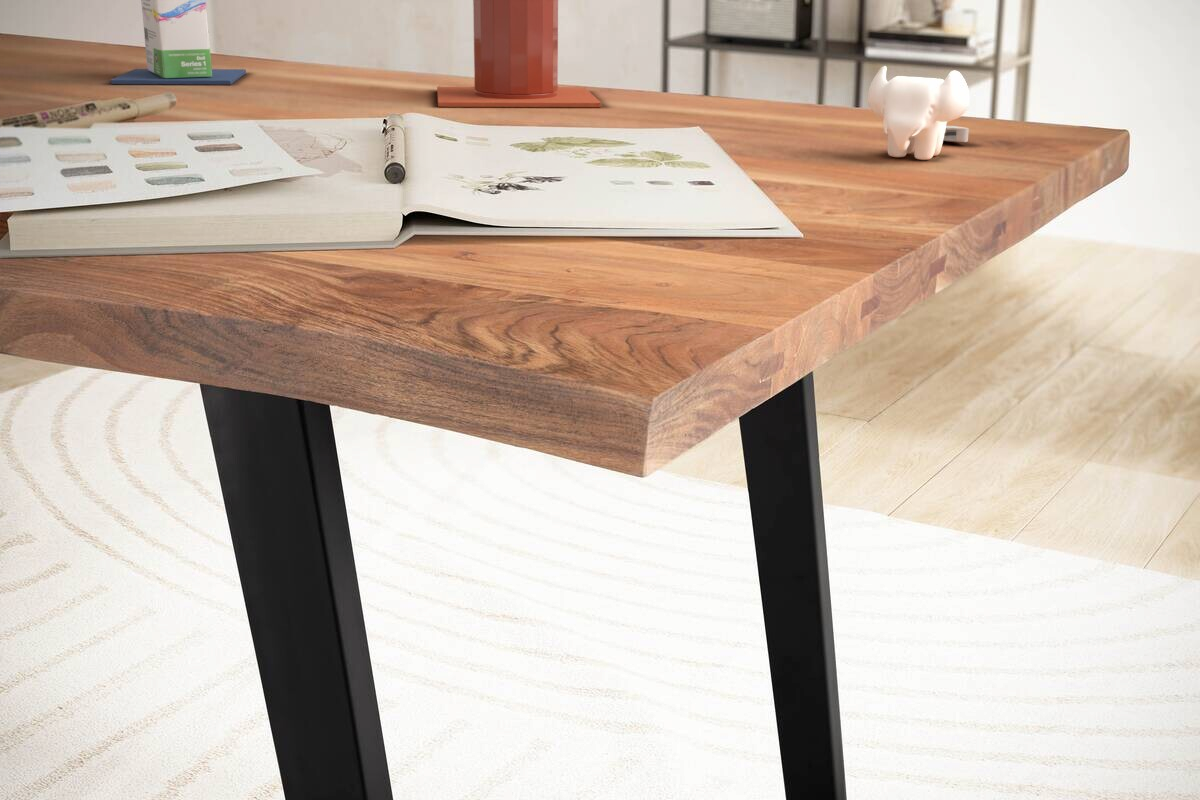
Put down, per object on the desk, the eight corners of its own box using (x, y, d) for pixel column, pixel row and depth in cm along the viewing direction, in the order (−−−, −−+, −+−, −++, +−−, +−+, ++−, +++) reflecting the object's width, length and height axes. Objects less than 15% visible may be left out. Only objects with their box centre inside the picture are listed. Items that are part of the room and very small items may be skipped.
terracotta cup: (476, 103, 111) (474, -5, 108) (473, 93, 118) (471, -8, 115) (560, 104, 112) (561, -4, 109) (553, 94, 119) (553, -7, 116)
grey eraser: (899, 138, 98) (900, 123, 97) (925, 137, 99) (926, 122, 98) (950, 144, 92) (951, 127, 92) (977, 142, 93) (978, 126, 93)
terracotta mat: (438, 106, 109) (437, 102, 108) (437, 91, 120) (437, 86, 120) (601, 107, 110) (601, 102, 110) (585, 91, 122) (585, 87, 121)
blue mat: (110, 84, 120) (110, 79, 120) (135, 72, 130) (135, 68, 130) (230, 84, 122) (230, 80, 121) (246, 73, 132) (245, 69, 132)
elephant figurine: (846, 160, 85) (853, 69, 83) (879, 145, 92) (887, 60, 90) (947, 170, 83) (957, 75, 81) (974, 153, 89) (984, 66, 87)
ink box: (214, 77, 123) (203, -52, 119) (161, 79, 121) (148, -53, 117) (196, 69, 130) (186, -53, 126) (146, 71, 128) (133, -54, 124)
